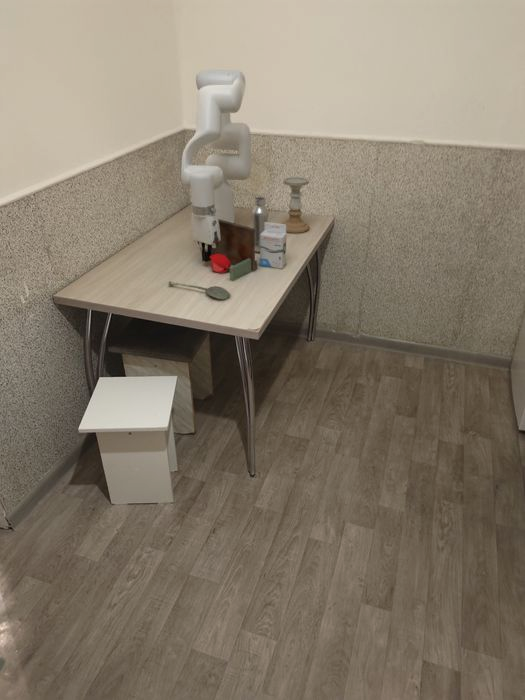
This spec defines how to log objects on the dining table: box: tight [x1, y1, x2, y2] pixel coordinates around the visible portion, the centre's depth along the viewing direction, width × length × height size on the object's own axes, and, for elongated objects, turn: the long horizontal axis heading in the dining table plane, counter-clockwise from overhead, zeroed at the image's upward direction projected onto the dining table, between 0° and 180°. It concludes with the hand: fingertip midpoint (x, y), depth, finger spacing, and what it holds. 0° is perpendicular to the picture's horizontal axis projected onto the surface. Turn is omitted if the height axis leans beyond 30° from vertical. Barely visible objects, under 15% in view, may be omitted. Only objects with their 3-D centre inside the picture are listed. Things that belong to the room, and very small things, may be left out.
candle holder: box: [281, 176, 310, 234], centre depth 211 cm, size 12×12×20 cm
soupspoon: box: [168, 280, 230, 301], centre depth 165 cm, size 22×3×7 cm
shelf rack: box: [211, 219, 258, 281], centre depth 178 cm, size 23×13×15 cm, turn 52°
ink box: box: [259, 221, 288, 270], centre depth 180 cm, size 8×5×15 cm, turn 71°
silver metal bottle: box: [250, 196, 269, 253], centre depth 190 cm, size 6×7×20 cm
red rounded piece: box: [210, 254, 232, 274], centre depth 178 cm, size 8×6×6 cm
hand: (207, 260), depth 182 cm, fingers closed
